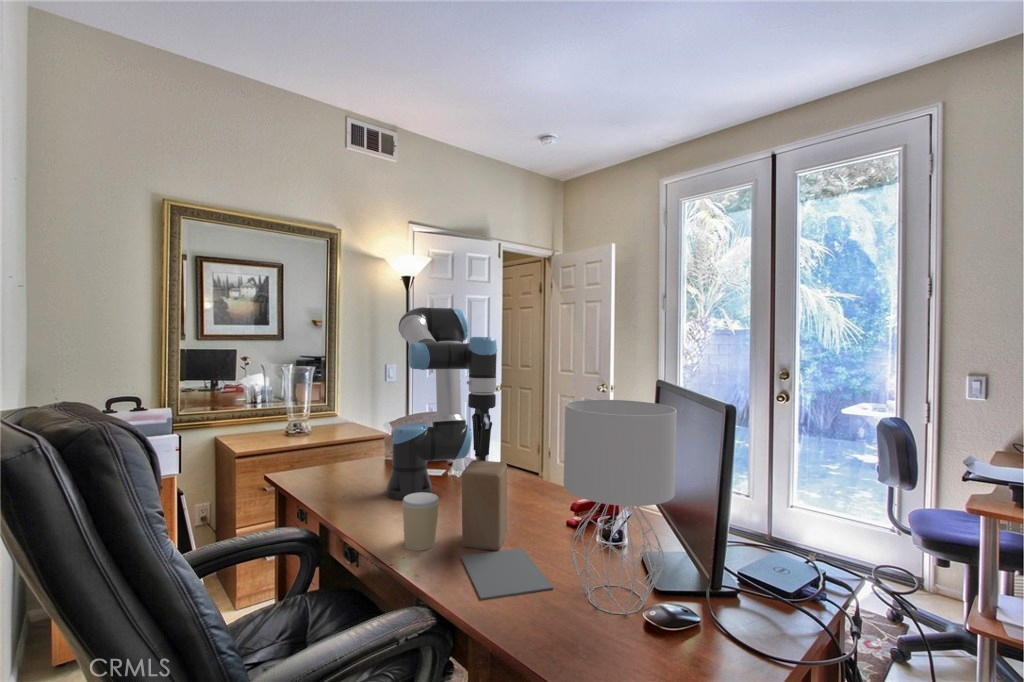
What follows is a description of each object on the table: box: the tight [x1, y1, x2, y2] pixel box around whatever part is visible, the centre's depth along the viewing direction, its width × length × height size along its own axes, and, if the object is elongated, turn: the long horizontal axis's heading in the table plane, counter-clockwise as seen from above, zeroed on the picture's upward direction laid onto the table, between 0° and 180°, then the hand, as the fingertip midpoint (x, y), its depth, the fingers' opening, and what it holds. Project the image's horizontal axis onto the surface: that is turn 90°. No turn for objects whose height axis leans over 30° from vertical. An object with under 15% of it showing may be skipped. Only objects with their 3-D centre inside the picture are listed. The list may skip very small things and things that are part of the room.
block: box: [461, 459, 508, 551], centre depth 127 cm, size 10×10×20 cm
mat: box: [460, 547, 554, 601], centre depth 112 cm, size 20×16×1 cm
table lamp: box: [563, 399, 678, 616], centre depth 101 cm, size 22×22×40 cm
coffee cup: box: [401, 492, 440, 551], centre depth 126 cm, size 9×9×12 cm
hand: (480, 478), depth 134 cm, fingers closed
